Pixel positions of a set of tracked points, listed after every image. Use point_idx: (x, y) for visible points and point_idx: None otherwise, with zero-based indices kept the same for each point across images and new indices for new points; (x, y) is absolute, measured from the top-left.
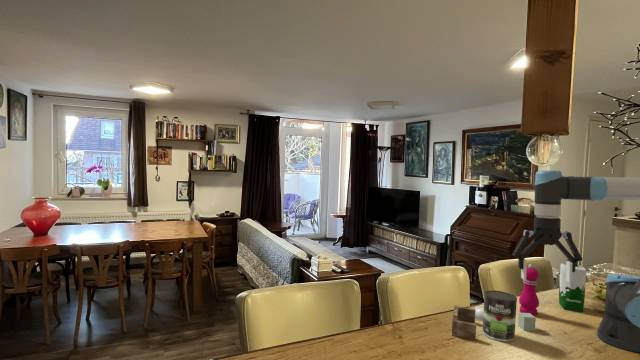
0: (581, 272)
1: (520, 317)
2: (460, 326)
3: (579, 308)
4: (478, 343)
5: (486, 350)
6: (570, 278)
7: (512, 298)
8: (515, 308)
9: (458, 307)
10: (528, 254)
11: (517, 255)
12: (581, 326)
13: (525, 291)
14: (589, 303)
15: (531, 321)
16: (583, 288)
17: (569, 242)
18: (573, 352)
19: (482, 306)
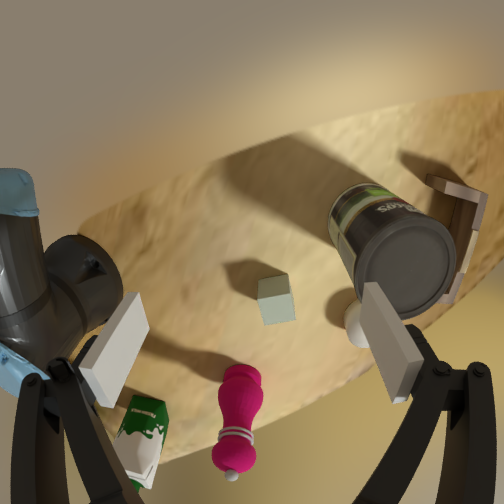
0: None
1: (293, 305)
2: (469, 187)
3: (137, 400)
4: (424, 156)
5: (414, 121)
6: (125, 304)
7: (375, 257)
8: (359, 230)
9: (447, 295)
10: (410, 406)
11: (475, 376)
12: None
13: (249, 413)
14: (121, 423)
15: (268, 291)
16: (119, 432)
17: (35, 501)
18: (197, 178)
19: (368, 347)
